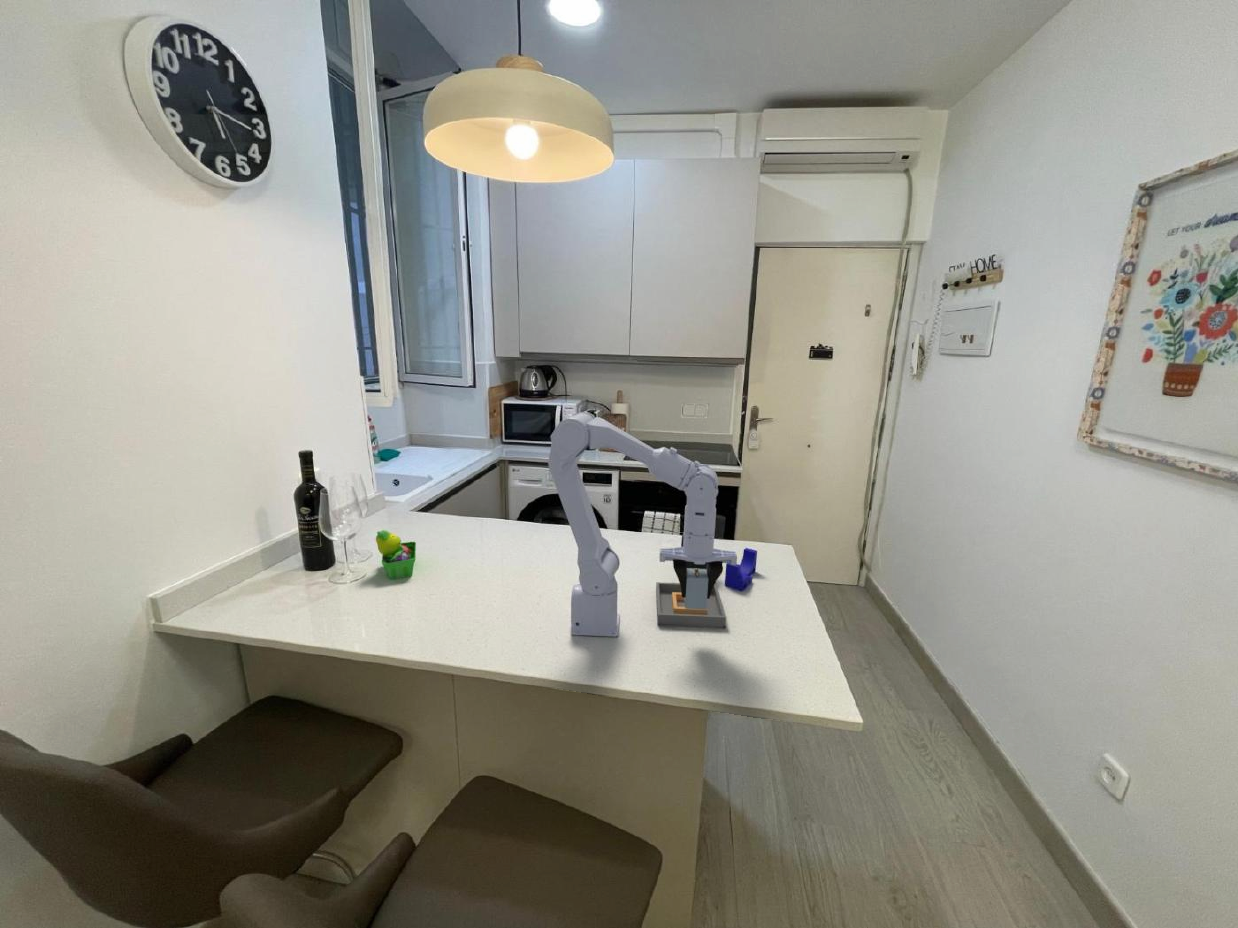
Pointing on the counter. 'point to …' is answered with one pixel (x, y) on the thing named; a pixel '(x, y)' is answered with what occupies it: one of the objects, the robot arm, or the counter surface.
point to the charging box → (676, 614)
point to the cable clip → (741, 571)
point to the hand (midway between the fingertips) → (695, 595)
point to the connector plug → (696, 589)
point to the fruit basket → (396, 554)
